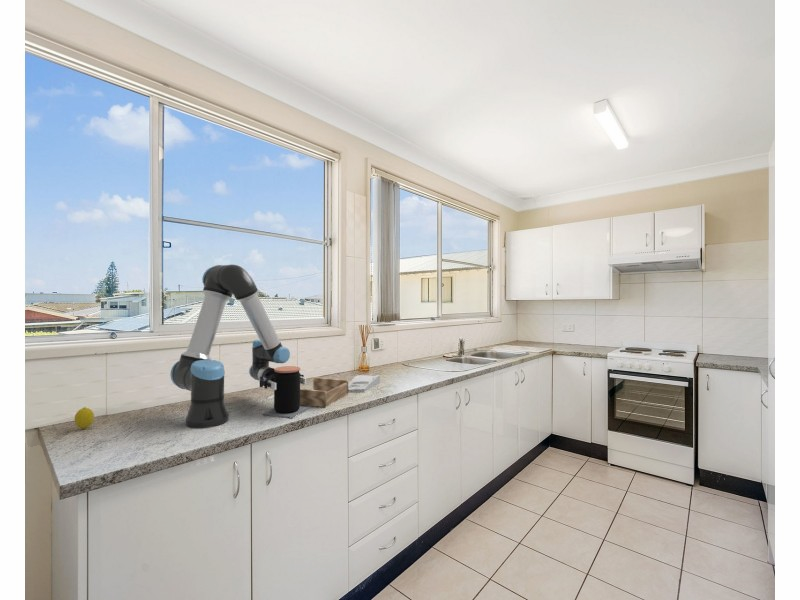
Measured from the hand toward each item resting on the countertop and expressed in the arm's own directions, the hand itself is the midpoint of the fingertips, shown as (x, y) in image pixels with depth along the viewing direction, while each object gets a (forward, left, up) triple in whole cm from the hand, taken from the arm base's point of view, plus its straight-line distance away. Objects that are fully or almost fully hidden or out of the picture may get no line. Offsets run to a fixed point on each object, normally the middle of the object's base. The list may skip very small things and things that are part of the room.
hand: (291, 384), depth 161 cm
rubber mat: (+2, +3, -12) cm, 13 cm away
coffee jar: (+2, +3, -12) cm, 13 cm away
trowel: (+52, -11, -13) cm, 55 cm away
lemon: (-40, +61, -13) cm, 74 cm away
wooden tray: (+25, +1, -12) cm, 28 cm away
